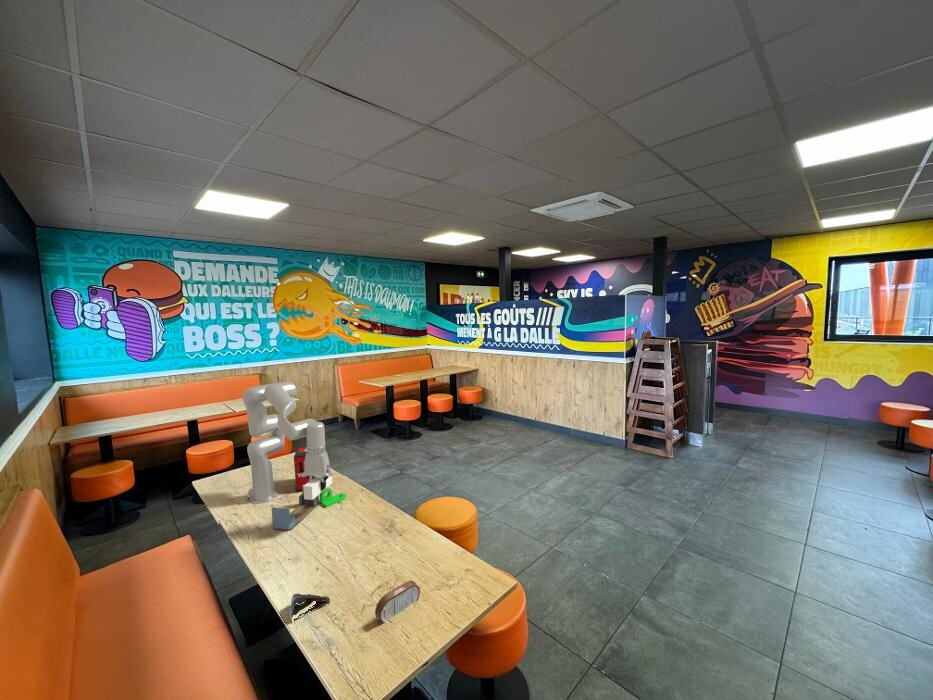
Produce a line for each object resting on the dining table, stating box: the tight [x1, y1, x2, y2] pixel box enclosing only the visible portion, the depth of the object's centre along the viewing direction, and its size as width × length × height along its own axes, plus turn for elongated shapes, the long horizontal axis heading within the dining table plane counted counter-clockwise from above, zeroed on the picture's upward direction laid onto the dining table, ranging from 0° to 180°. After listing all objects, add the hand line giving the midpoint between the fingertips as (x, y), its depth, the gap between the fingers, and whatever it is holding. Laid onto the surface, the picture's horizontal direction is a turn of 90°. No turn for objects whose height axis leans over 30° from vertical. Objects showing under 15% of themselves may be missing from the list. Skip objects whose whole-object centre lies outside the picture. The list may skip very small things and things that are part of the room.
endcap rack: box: [272, 485, 321, 531], centre depth 173 cm, size 9×23×10 cm, turn 170°
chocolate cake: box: [288, 592, 331, 619], centre depth 118 cm, size 10×7×12 cm
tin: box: [374, 580, 421, 624], centre depth 116 cm, size 15×3×8 cm, turn 133°
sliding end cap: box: [271, 507, 295, 531], centre depth 164 cm, size 8×4×9 cm, turn 80°
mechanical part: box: [319, 487, 347, 509], centre depth 186 cm, size 12×6×8 cm, turn 139°
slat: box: [303, 470, 333, 500], centre depth 168 cm, size 4×16×6 cm, turn 170°
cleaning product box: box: [293, 444, 316, 493], centre depth 205 cm, size 16×9×20 cm, turn 17°
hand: (318, 488), depth 168 cm, fingers closed on slat, 4 cm apart
